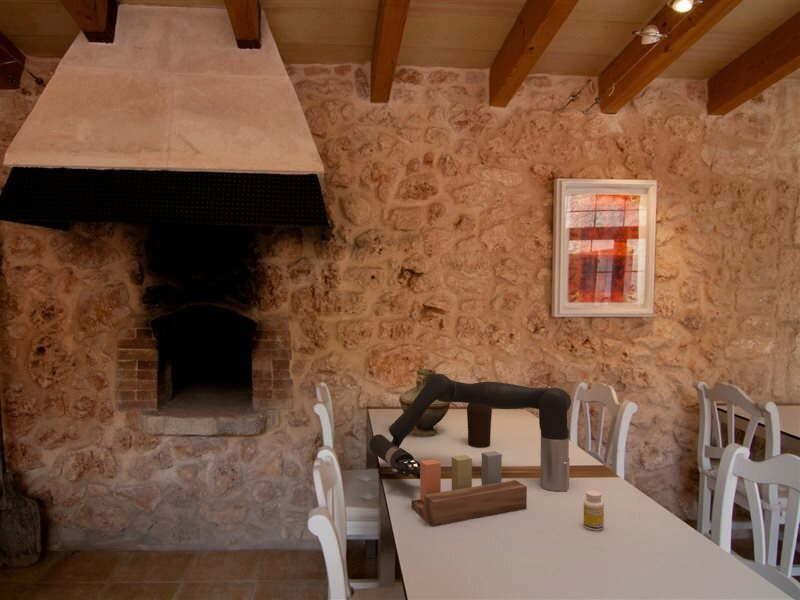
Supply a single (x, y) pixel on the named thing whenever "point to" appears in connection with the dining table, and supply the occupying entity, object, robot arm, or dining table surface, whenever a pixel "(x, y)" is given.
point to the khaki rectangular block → (461, 472)
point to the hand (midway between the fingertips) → (420, 475)
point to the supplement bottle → (593, 511)
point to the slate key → (491, 468)
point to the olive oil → (479, 425)
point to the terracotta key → (430, 477)
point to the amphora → (432, 412)
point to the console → (472, 502)
